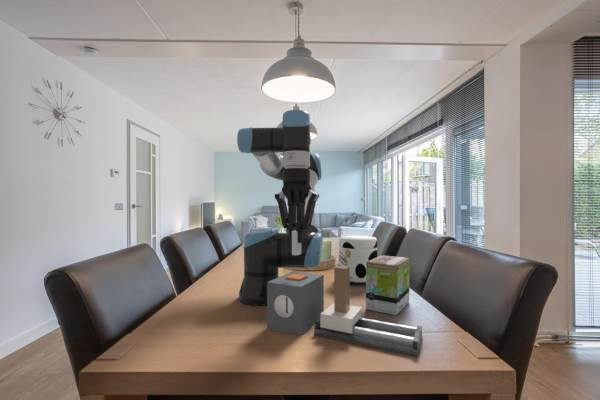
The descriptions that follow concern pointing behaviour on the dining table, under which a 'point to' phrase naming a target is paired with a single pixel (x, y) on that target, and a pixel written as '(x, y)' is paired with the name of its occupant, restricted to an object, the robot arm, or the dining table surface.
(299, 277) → the orange cube
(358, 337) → the rail track
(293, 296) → the gauge cabinet
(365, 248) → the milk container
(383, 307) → the tea box
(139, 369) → the dining table surface
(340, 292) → the carriage
